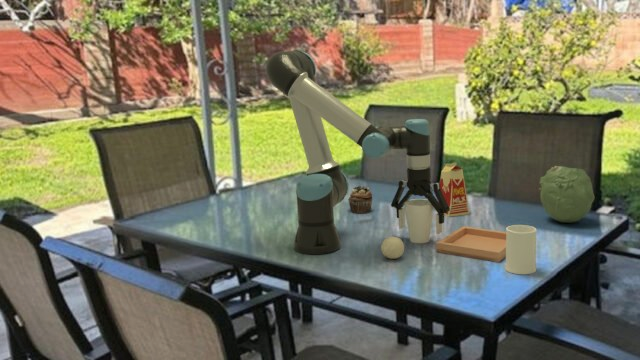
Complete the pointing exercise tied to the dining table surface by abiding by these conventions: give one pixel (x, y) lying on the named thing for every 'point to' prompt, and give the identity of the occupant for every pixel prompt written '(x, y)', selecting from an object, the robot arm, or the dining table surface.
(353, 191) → the cupcake
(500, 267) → the dining table surface
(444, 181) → the milk carton
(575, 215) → the cabbage
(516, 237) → the mug
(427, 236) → the foam cup
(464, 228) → the tray
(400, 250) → the beige ball
